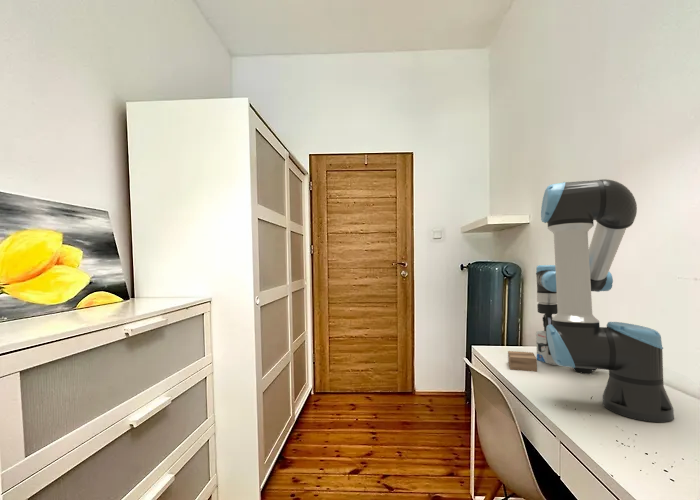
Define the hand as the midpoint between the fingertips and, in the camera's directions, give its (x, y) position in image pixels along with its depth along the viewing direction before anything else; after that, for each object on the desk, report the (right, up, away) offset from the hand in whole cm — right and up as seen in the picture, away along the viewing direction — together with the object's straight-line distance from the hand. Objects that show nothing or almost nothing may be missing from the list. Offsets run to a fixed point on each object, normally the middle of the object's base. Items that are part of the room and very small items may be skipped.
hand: (549, 359), depth 141 cm
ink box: (0, -1, 0) cm, 1 cm away
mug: (+7, -1, -12) cm, 14 cm away
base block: (-14, -1, -6) cm, 15 cm away
